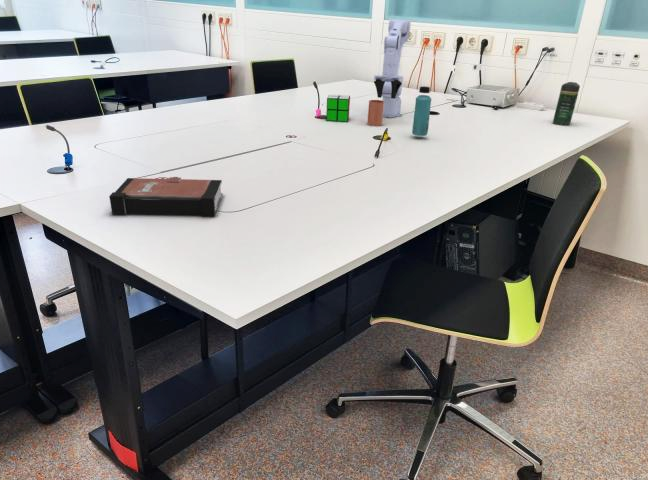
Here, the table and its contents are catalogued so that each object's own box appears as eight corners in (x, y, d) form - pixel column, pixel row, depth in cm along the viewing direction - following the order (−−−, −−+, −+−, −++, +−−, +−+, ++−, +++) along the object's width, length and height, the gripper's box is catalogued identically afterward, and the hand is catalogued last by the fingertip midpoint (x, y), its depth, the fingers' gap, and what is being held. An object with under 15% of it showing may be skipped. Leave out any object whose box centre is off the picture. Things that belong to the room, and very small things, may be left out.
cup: (373, 122, 249) (375, 99, 244) (385, 124, 245) (387, 101, 240) (364, 124, 245) (365, 100, 240) (376, 126, 241) (378, 103, 236)
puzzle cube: (349, 117, 256) (350, 95, 251) (347, 122, 248) (349, 99, 243) (327, 116, 257) (328, 94, 252) (326, 120, 248) (326, 97, 243)
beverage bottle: (426, 140, 222) (433, 88, 212) (410, 138, 223) (416, 87, 213) (427, 136, 227) (433, 86, 217) (411, 135, 228) (417, 85, 218)
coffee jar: (568, 126, 255) (579, 84, 246) (551, 124, 258) (561, 82, 249) (571, 122, 262) (582, 82, 253) (554, 120, 265) (564, 80, 256)
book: (223, 194, 156) (222, 177, 153) (214, 216, 141) (213, 198, 138) (130, 192, 154) (128, 175, 152) (112, 214, 139) (109, 196, 137)
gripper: (371, 64, 241) (368, 96, 246) (397, 64, 232) (394, 98, 237) (380, 65, 246) (377, 97, 251) (407, 66, 237) (403, 99, 242)
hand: (386, 98), depth 244 cm, fingers open, 7 cm apart
